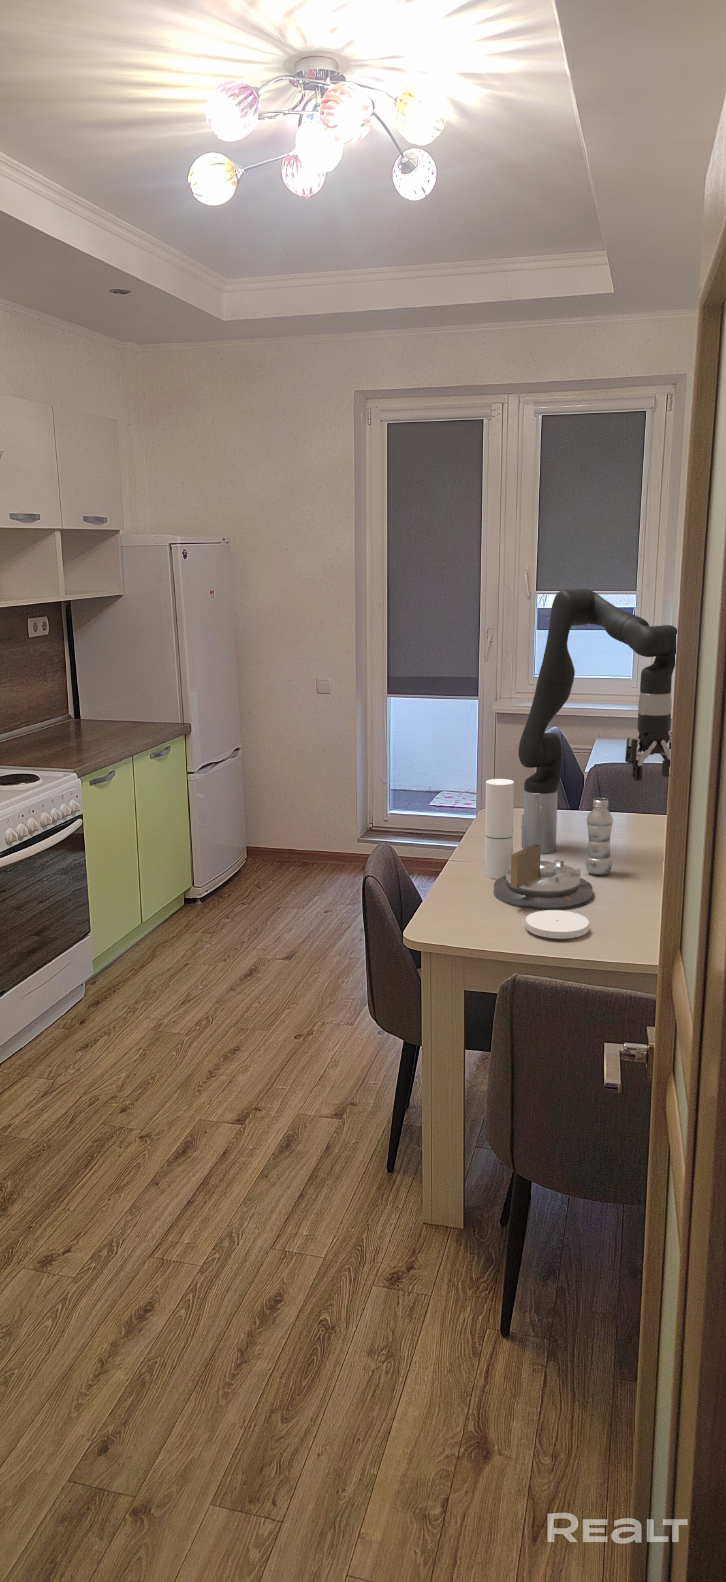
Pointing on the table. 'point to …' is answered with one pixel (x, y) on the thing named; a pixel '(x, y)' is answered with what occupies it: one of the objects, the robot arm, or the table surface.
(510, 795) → the cylindrical container
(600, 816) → the plastic bottle
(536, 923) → the plastic lid
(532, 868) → the round mechanism with board
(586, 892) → the base plate
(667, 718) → the robot arm
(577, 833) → the table surface
